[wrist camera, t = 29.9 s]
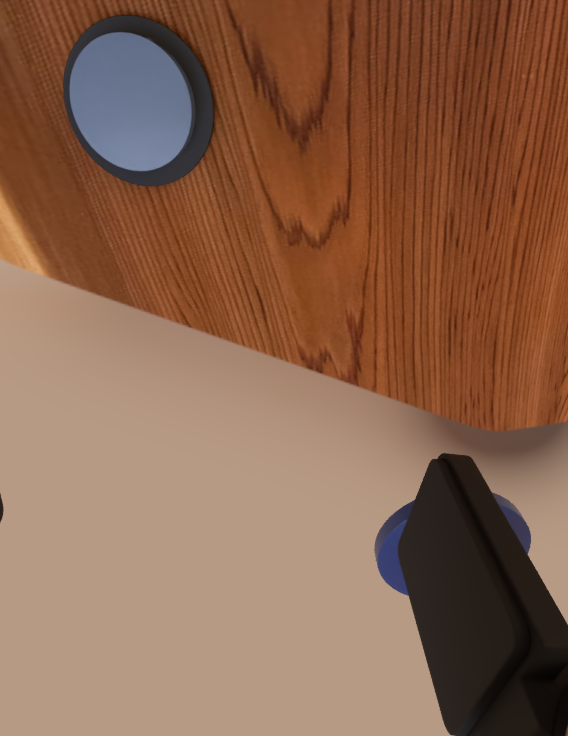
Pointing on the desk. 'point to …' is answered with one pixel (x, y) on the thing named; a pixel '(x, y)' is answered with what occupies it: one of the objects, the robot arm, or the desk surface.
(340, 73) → the desk surface
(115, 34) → the jar lid
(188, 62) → the coaster
